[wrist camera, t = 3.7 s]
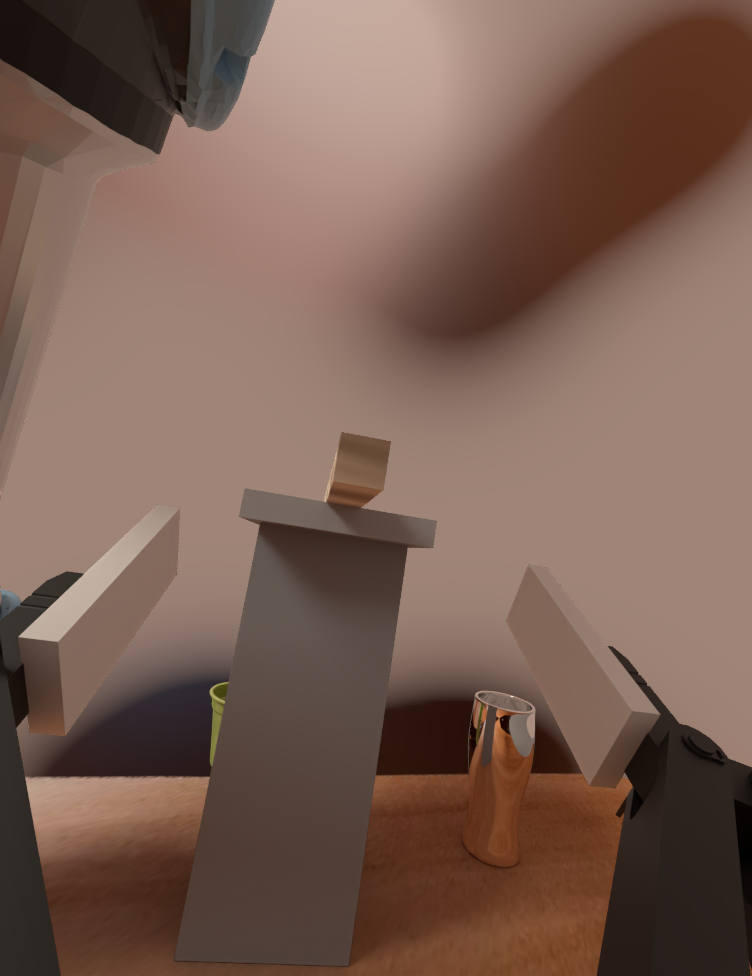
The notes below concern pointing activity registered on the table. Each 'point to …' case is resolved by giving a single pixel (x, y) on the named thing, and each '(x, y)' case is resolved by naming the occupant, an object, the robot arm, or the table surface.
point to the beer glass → (498, 775)
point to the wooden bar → (357, 470)
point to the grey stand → (299, 735)
